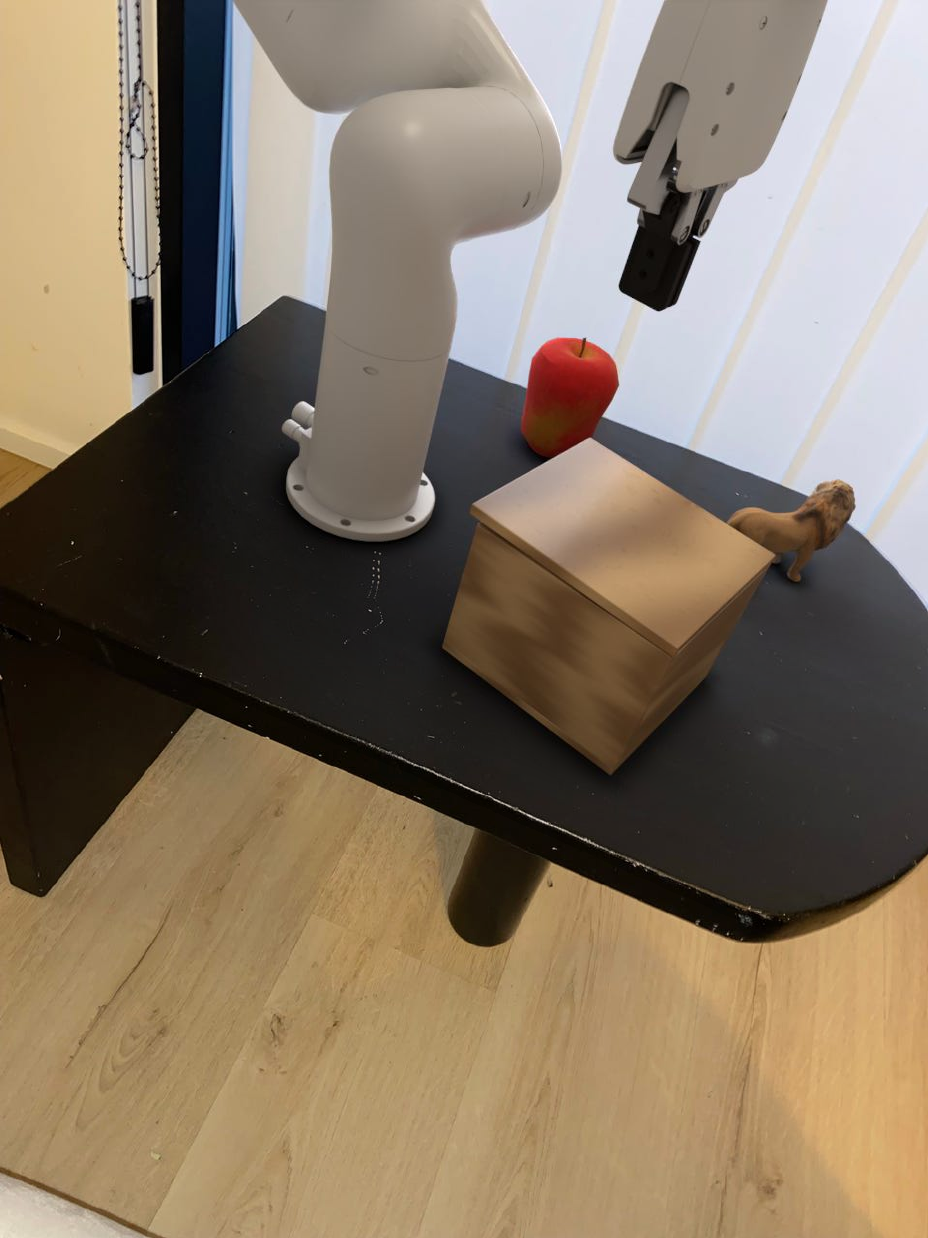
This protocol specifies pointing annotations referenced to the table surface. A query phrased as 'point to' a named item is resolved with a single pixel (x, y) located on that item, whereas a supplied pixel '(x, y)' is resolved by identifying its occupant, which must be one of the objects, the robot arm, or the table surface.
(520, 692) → the case box
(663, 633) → the cover
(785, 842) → the table surface
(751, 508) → the lion figurine
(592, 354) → the apple
